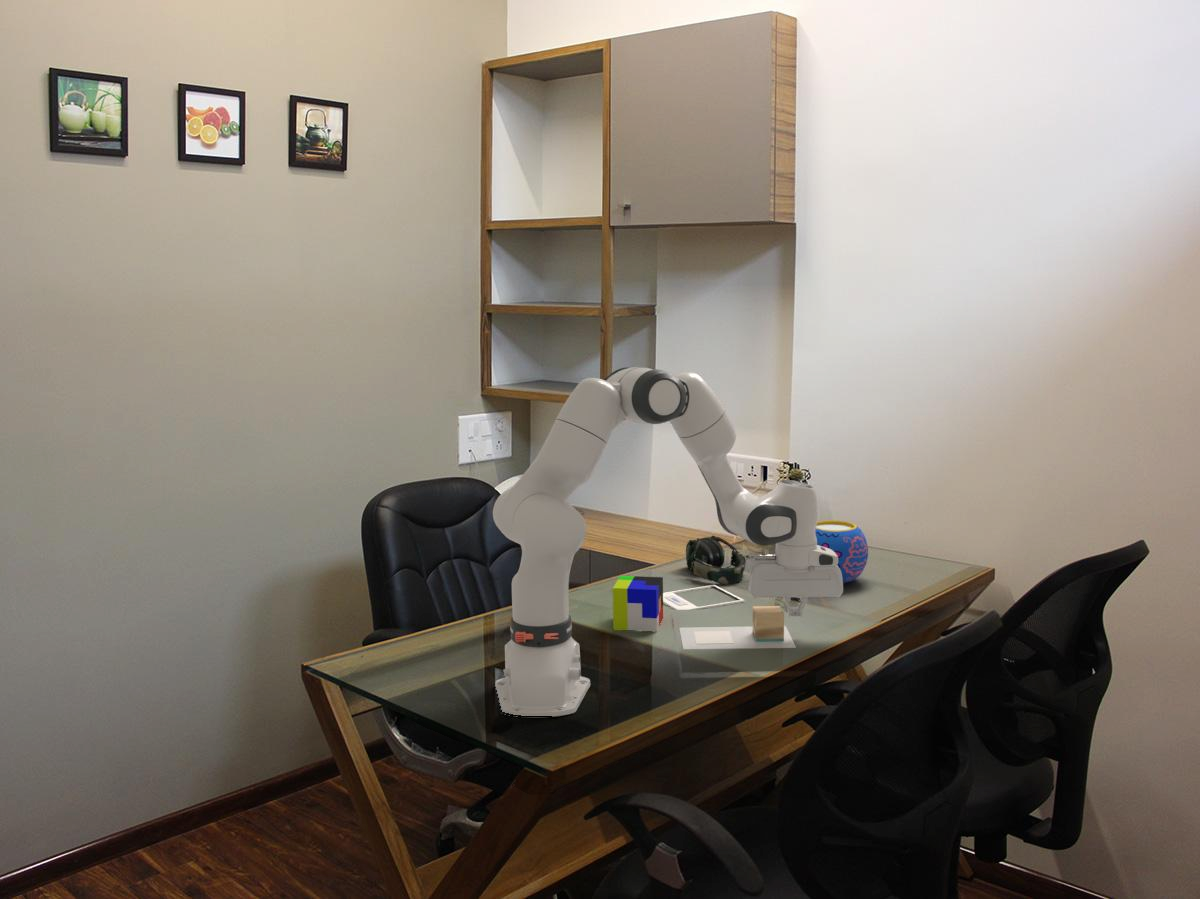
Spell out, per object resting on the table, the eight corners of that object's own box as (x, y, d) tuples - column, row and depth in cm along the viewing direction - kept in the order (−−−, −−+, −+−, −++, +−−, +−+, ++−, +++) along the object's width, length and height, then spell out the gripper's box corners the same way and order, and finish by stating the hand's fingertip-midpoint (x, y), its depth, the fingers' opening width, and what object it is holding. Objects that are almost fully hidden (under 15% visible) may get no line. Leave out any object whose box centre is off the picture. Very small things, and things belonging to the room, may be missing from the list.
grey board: (796, 652, 234) (796, 647, 234) (683, 653, 235) (683, 648, 234) (785, 630, 248) (785, 625, 248) (679, 631, 248) (679, 627, 248)
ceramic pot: (827, 568, 297) (827, 514, 294) (881, 582, 283) (883, 525, 281) (783, 581, 286) (784, 525, 283) (838, 596, 272) (839, 537, 270)
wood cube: (783, 641, 238) (784, 614, 237) (756, 641, 238) (756, 615, 237) (779, 632, 244) (779, 606, 243) (752, 632, 244) (752, 606, 243)
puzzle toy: (656, 632, 249) (656, 589, 247) (613, 630, 251) (612, 588, 249) (663, 618, 258) (662, 577, 256) (621, 616, 260) (620, 575, 259)
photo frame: (651, 593, 275) (714, 583, 282) (651, 598, 275) (714, 588, 282) (679, 610, 262) (744, 599, 269) (679, 614, 262) (744, 603, 269)
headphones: (662, 552, 294) (711, 580, 279) (692, 514, 297) (742, 540, 281) (686, 579, 302) (734, 607, 287) (715, 541, 305) (765, 567, 290)
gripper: (749, 558, 235) (748, 620, 237) (845, 557, 234) (844, 620, 237) (746, 551, 241) (745, 611, 243) (839, 550, 241) (838, 610, 243)
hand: (794, 615), depth 240 cm, fingers closed
